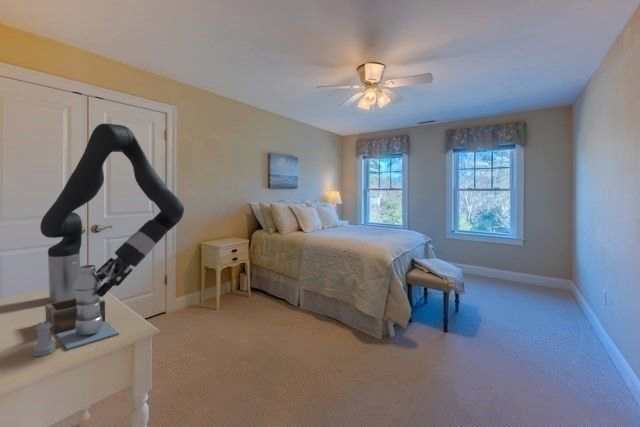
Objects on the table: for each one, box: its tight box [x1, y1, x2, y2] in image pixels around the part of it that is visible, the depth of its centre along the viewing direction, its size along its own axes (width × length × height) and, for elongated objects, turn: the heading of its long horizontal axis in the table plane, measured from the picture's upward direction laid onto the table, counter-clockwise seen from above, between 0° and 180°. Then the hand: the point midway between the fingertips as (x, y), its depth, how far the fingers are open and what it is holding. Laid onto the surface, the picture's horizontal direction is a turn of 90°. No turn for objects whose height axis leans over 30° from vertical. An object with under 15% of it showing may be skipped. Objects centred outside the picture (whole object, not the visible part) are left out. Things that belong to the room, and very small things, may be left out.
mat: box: [56, 320, 120, 351], centre depth 88 cm, size 12×12×1 cm
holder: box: [44, 298, 106, 336], centre depth 96 cm, size 13×12×7 cm
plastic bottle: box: [74, 264, 103, 336], centre depth 87 cm, size 6×7×20 cm
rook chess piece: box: [32, 320, 57, 358], centre depth 78 cm, size 4×4×8 cm
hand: (93, 291), depth 88 cm, fingers open, 8 cm apart
